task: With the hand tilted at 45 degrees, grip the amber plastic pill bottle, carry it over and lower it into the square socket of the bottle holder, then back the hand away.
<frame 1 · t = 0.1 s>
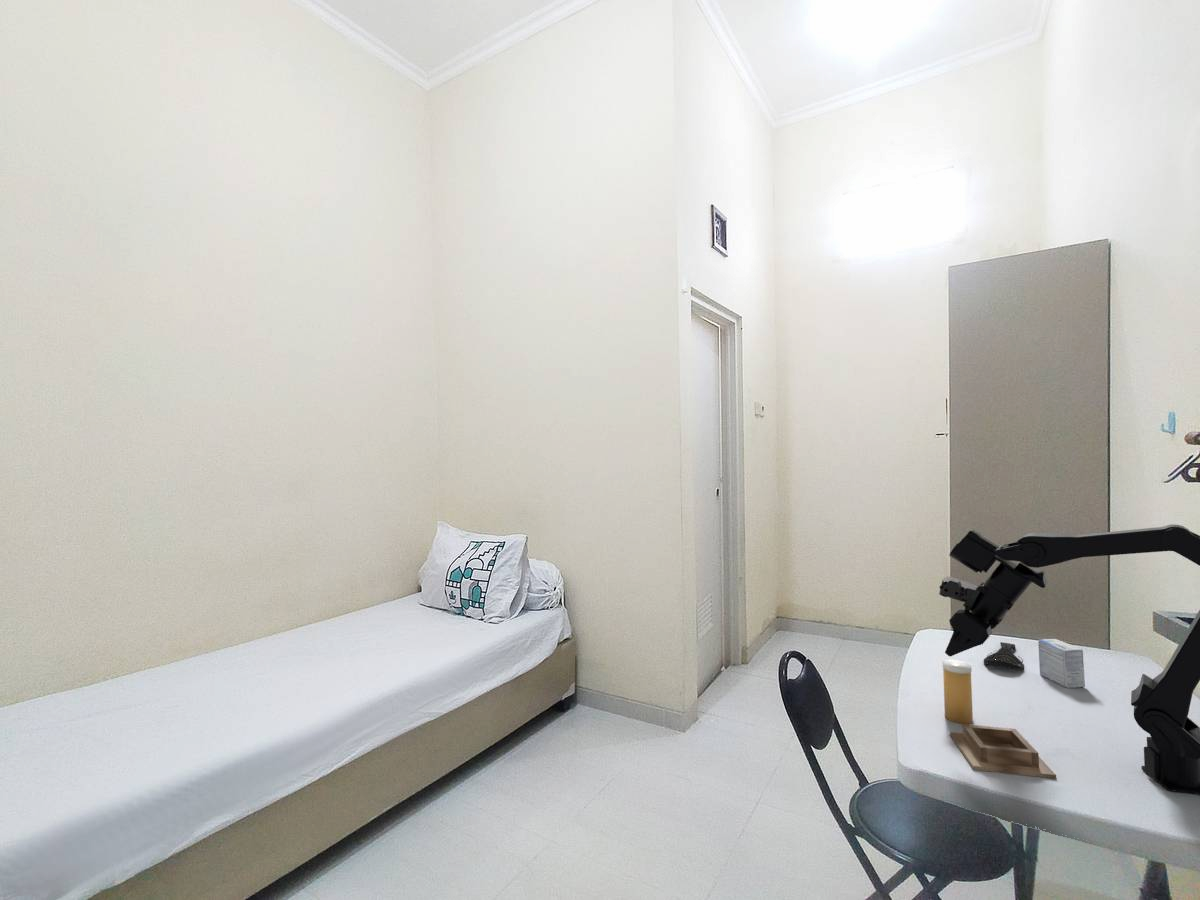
hand: (953, 648, 112), 15 cm above the table, tool tilted 35°, fingers open, 9 cm apart
bottle holder: (999, 755, 99), on the table
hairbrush: (1005, 660, 145), on the table
medicine box: (1061, 682, 129), on the table
pill bottle: (958, 718, 113), on the table
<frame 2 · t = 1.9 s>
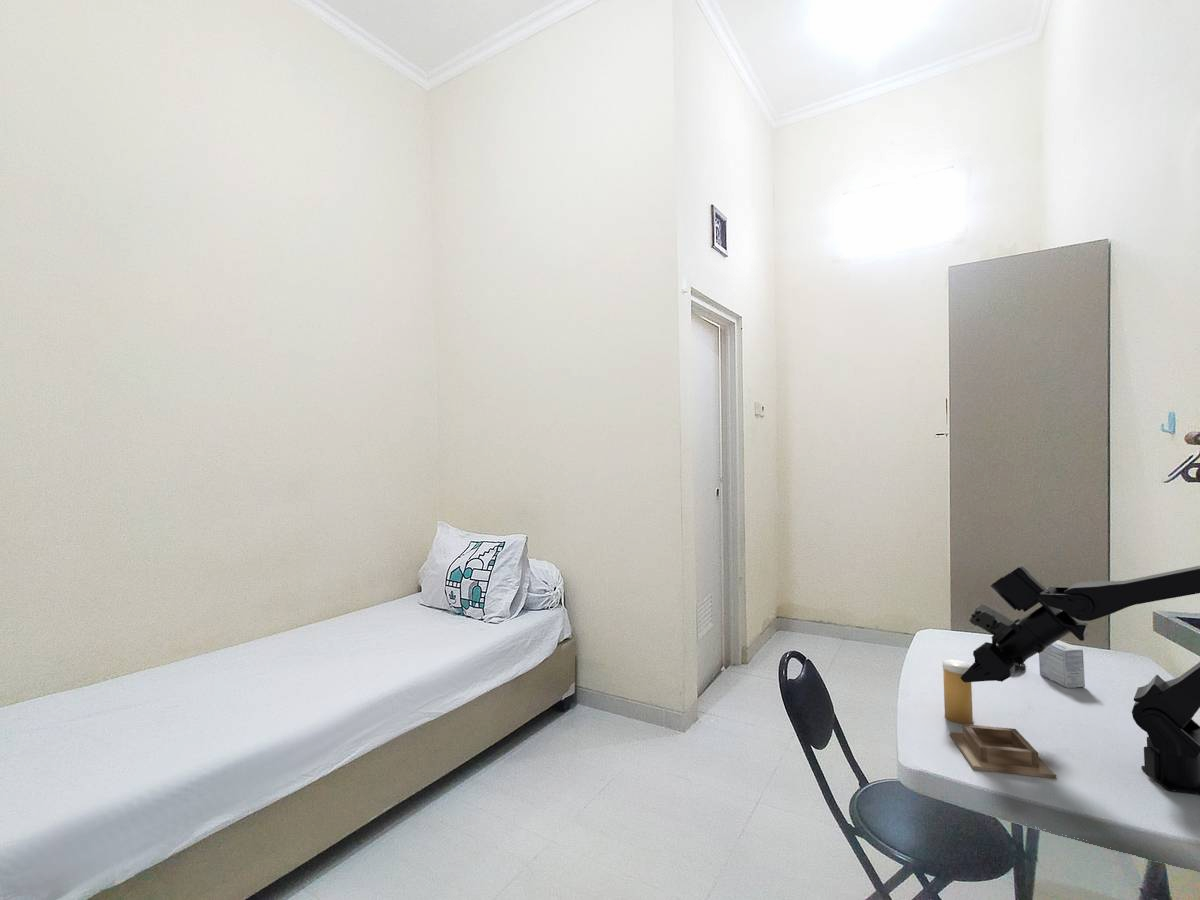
hand: (969, 673, 112), 10 cm above the table, tool tilted 45°, fingers open, 9 cm apart
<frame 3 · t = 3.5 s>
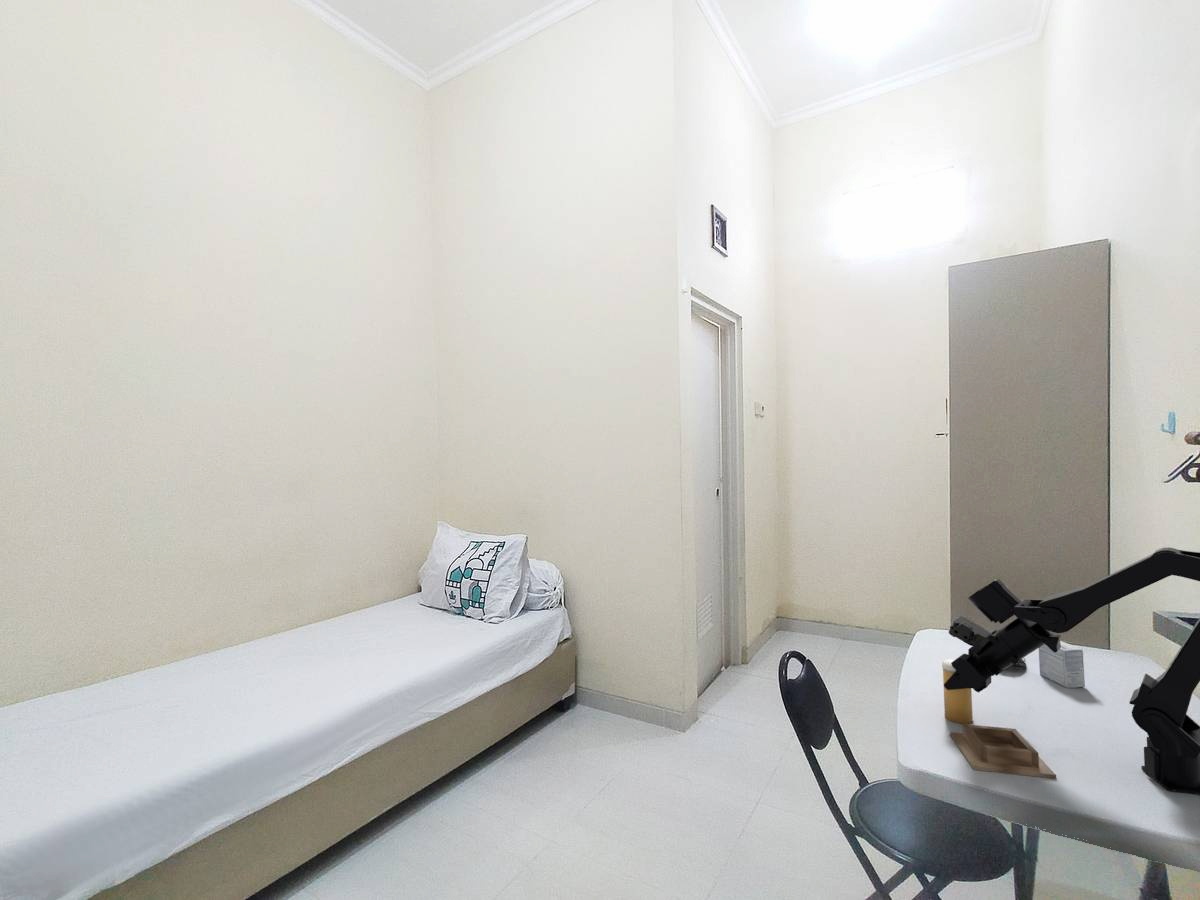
hand: (949, 683, 114), 7 cm above the table, tool tilted 45°, fingers closed on pill bottle, 5 cm apart
pill bottle: (958, 718, 113), on the table, touching gripper
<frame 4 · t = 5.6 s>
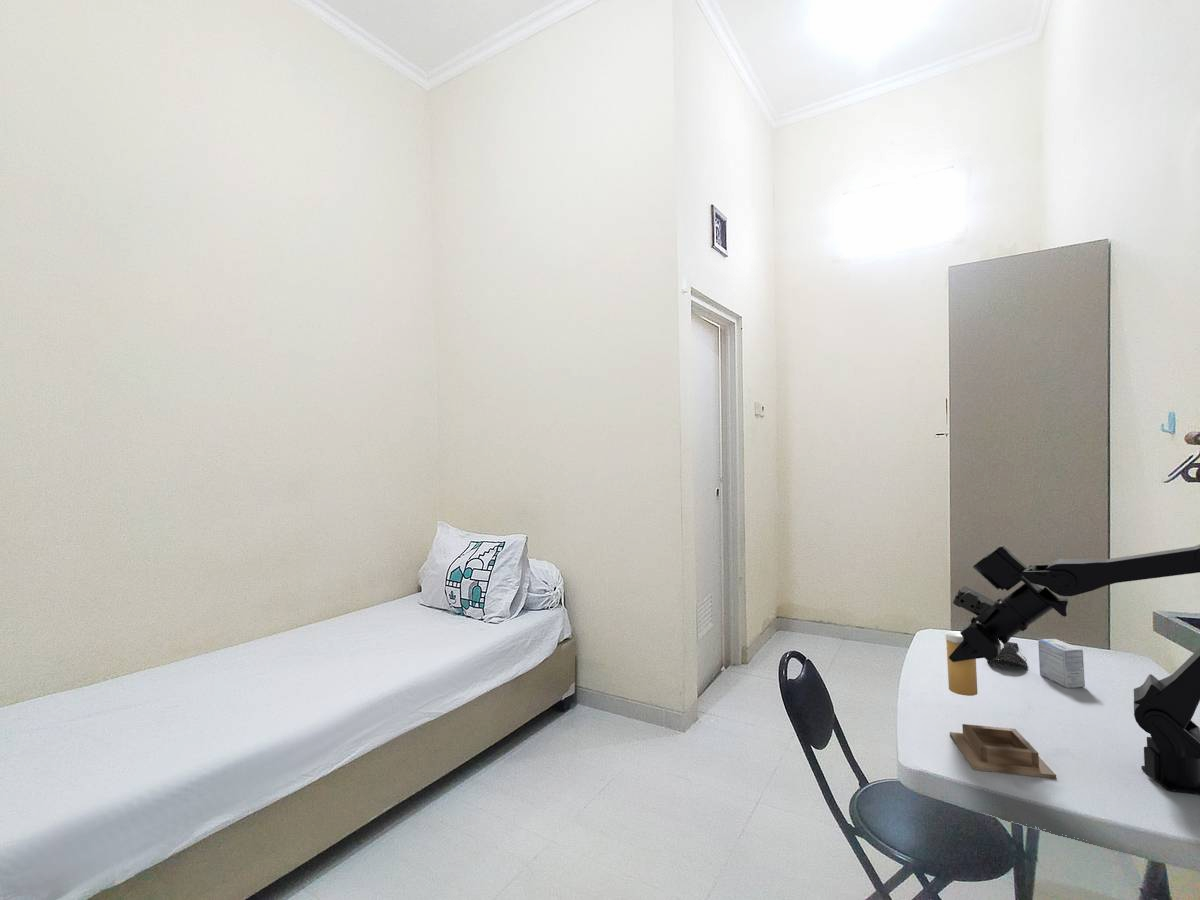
hand: (953, 655, 111), 13 cm above the table, tool tilted 45°, fingers closed on pill bottle, 5 cm apart
pill bottle: (963, 690, 110), point 7 cm above the table, touching gripper
when the fingers open (9 cm above the table, at t = 8.0 s): pill bottle drops 2 cm, resting on bottle holder.
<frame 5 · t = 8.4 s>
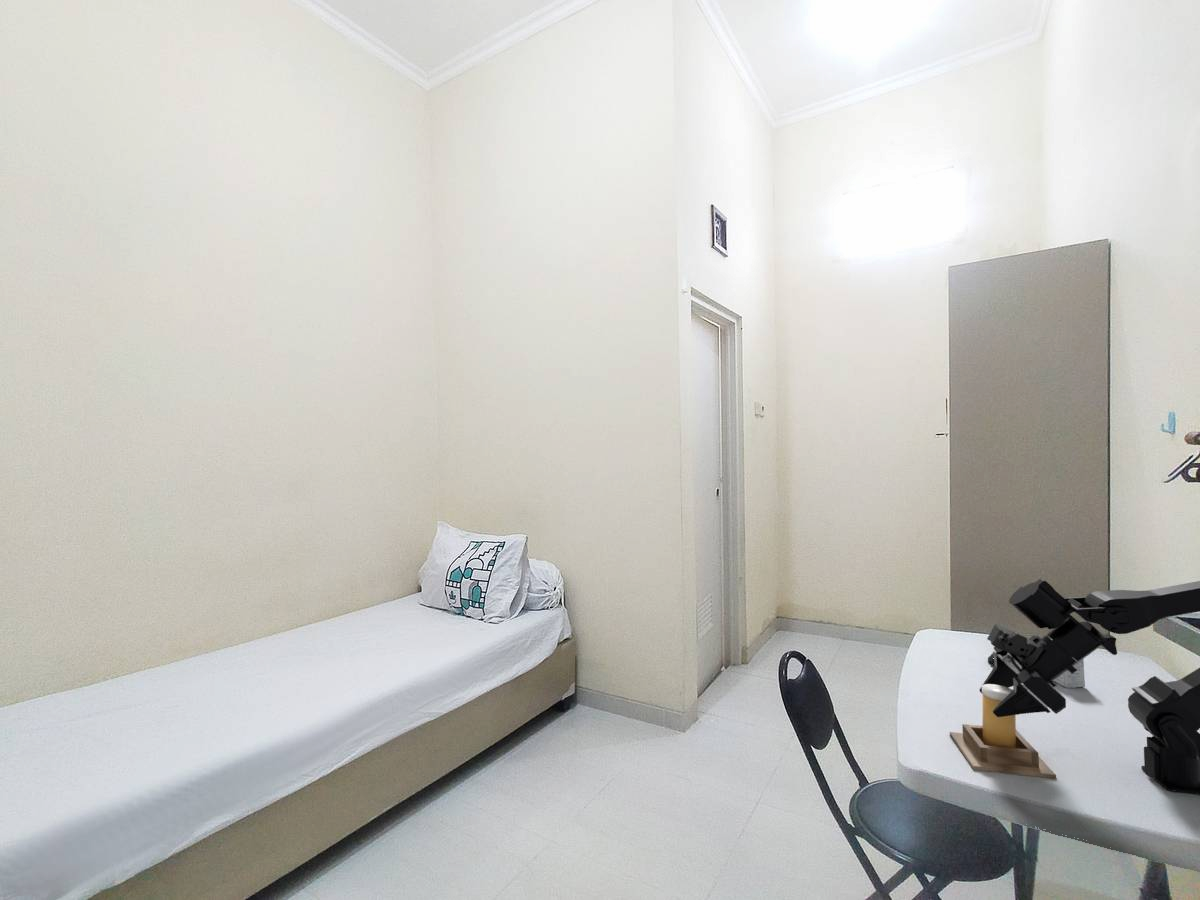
hand: (987, 703, 100), 9 cm above the table, tool tilted 45°, fingers open, 9 cm apart
pill bottle: (999, 751, 99), point 1 cm above the table, touching bottle holder
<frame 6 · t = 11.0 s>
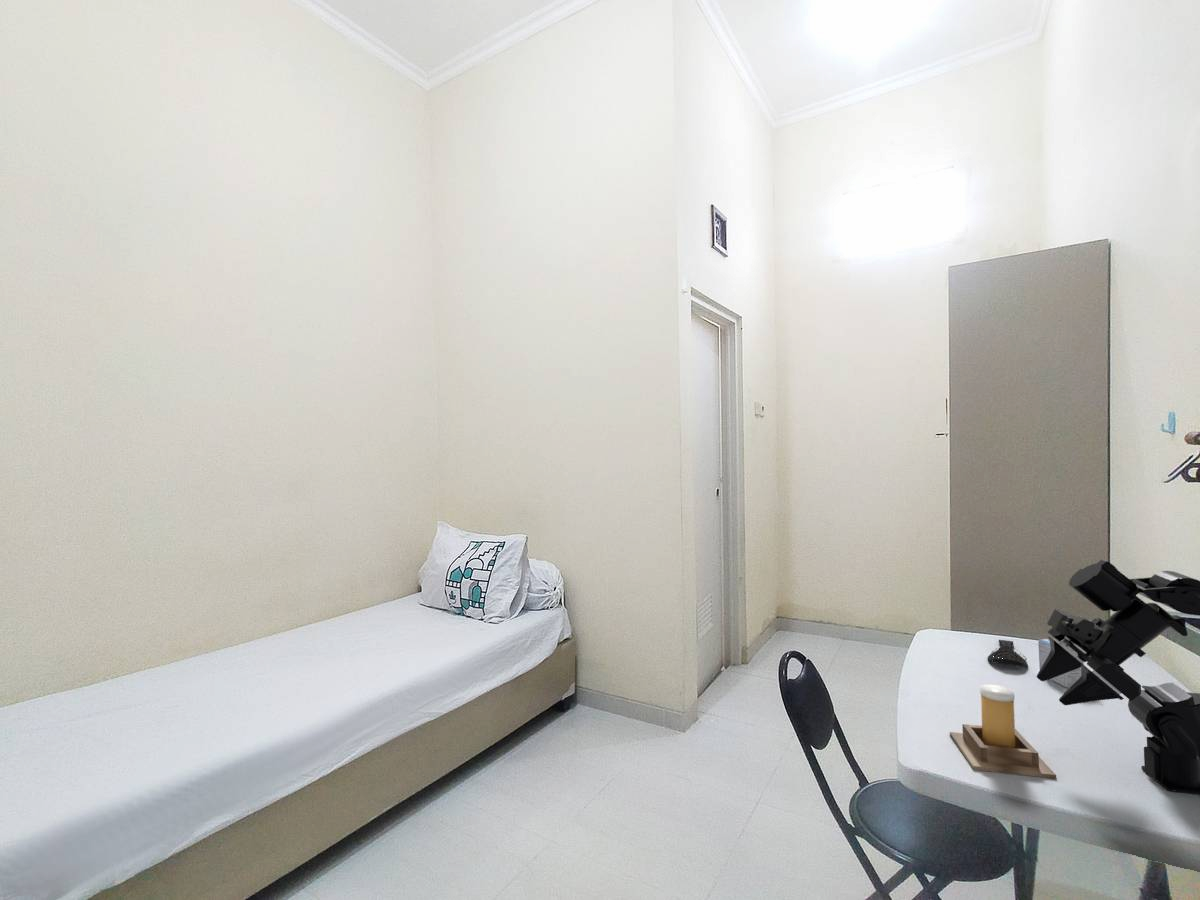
hand: (1049, 690, 96), 13 cm above the table, tool tilted 45°, fingers open, 9 cm apart
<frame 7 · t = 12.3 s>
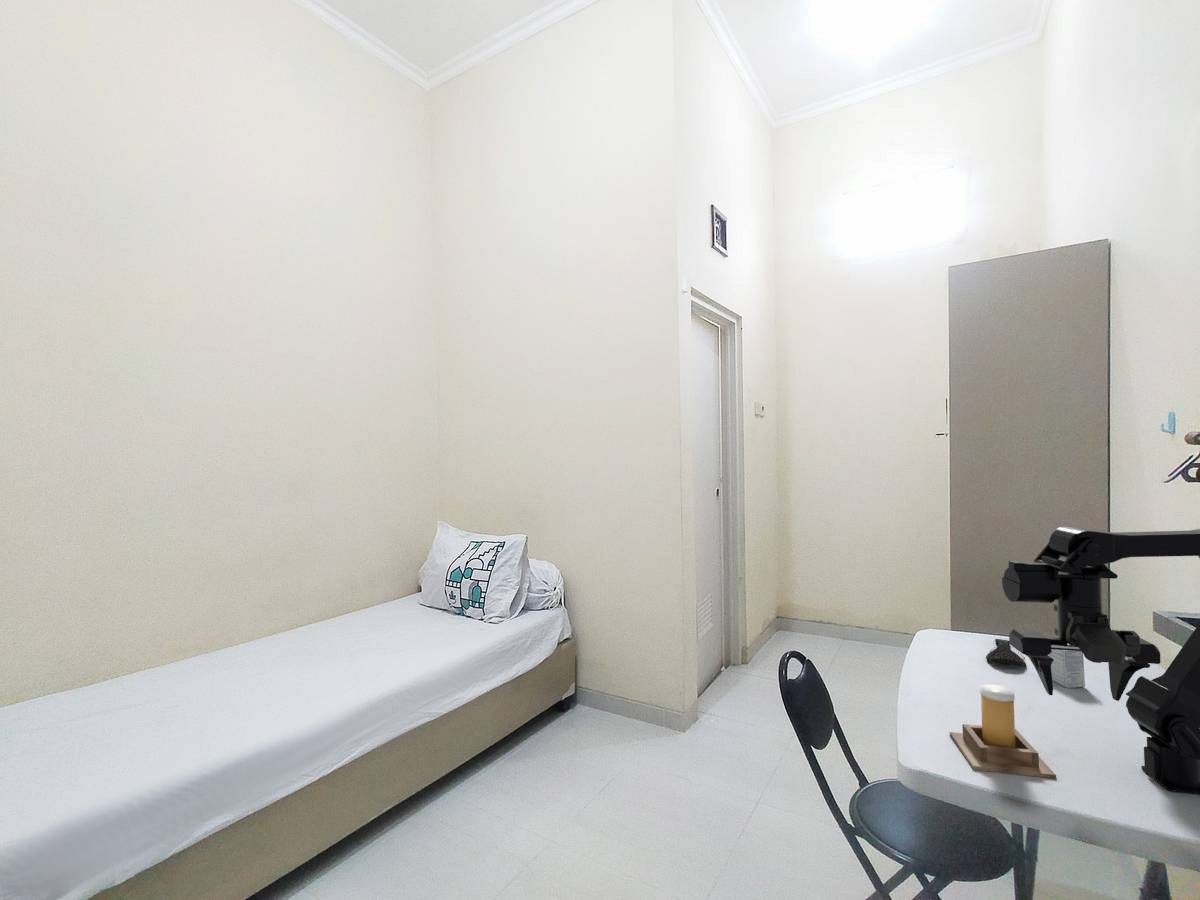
hand: (1082, 697, 92), 13 cm above the table, tool pointing down, fingers open, 9 cm apart
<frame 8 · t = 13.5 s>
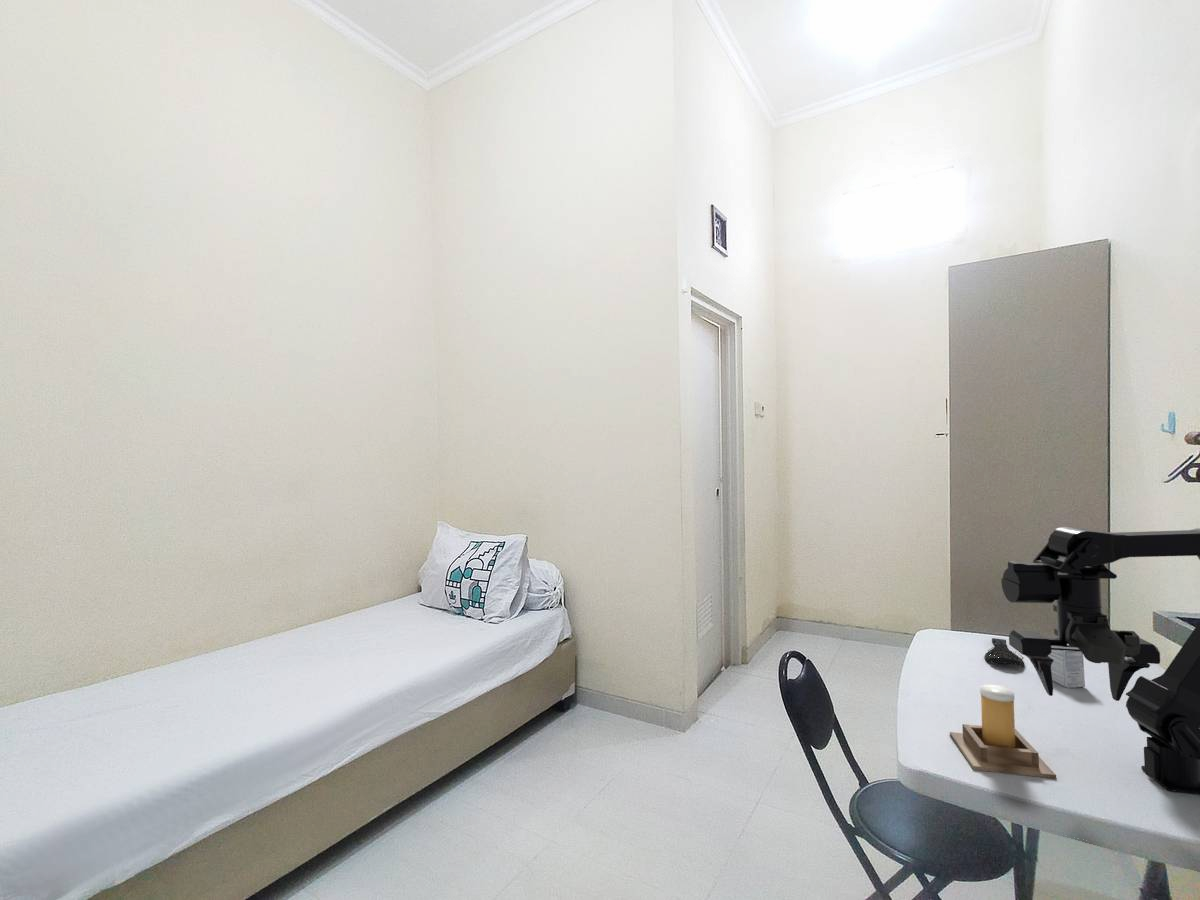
hand: (1082, 697, 92), 13 cm above the table, tool pointing down, fingers open, 9 cm apart
at the end: pill bottle 0.0 cm off-centre on the bottle holder, point 0.6 cm above the bottle holder's base; pill bottle tilted 0°; the gripper is holding nothing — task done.
